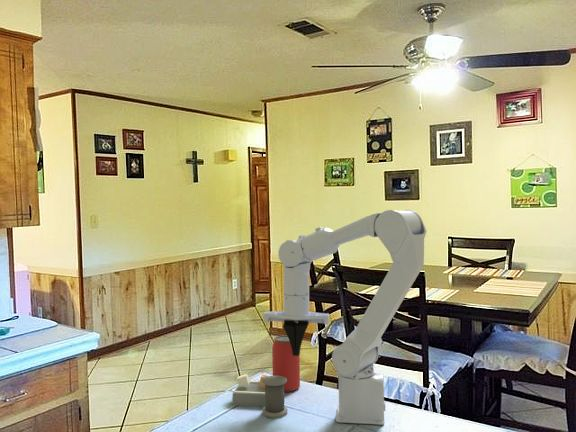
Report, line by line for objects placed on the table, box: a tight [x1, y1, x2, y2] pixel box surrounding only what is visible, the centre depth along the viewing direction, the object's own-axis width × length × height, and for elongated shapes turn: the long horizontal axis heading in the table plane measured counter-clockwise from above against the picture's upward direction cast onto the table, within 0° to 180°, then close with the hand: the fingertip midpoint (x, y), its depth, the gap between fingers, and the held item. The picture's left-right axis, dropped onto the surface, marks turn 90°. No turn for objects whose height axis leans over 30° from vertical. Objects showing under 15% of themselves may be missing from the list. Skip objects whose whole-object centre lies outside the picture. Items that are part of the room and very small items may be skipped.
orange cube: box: [259, 374, 268, 387], centre depth 111 cm, size 2×2×2 cm
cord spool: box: [262, 375, 288, 419], centre depth 104 cm, size 5×5×7 cm
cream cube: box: [236, 373, 251, 387], centre depth 112 cm, size 2×2×2 cm
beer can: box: [271, 334, 301, 393], centre depth 118 cm, size 7×7×12 cm
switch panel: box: [232, 380, 265, 408], centre depth 112 cm, size 8×8×3 cm
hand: (296, 354), depth 110 cm, fingers closed
